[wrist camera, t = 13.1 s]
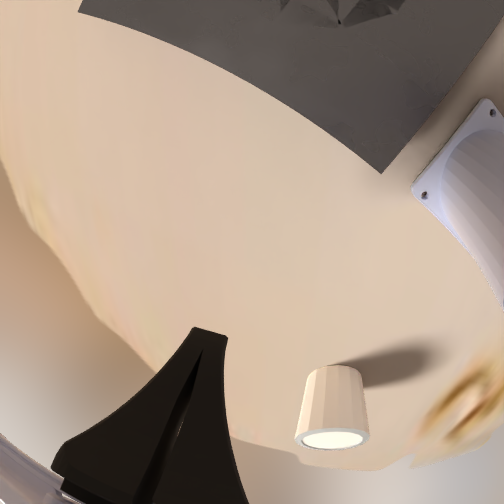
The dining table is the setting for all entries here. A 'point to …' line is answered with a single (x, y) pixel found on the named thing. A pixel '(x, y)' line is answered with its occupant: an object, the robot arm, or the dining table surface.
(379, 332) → the dining table surface
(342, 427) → the cream tapered cylinder
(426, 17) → the dark grey slab
